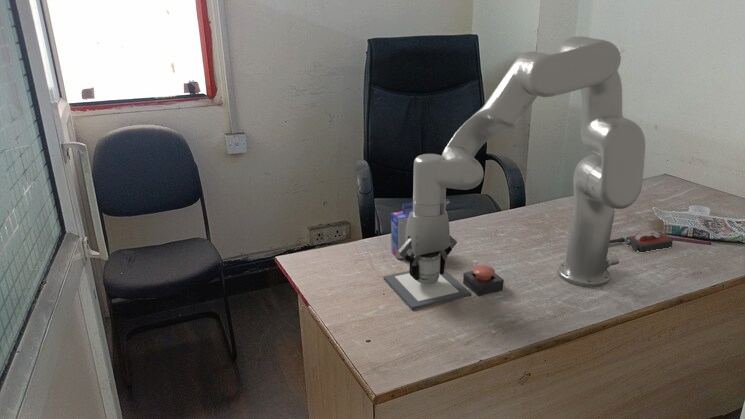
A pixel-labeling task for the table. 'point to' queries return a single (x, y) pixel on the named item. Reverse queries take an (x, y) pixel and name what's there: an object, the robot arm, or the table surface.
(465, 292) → the desk mat
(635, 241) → the walkie-talkie
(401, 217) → the ink cartridge box
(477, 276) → the button
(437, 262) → the camera lens
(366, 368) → the table surface
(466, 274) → the button housing
